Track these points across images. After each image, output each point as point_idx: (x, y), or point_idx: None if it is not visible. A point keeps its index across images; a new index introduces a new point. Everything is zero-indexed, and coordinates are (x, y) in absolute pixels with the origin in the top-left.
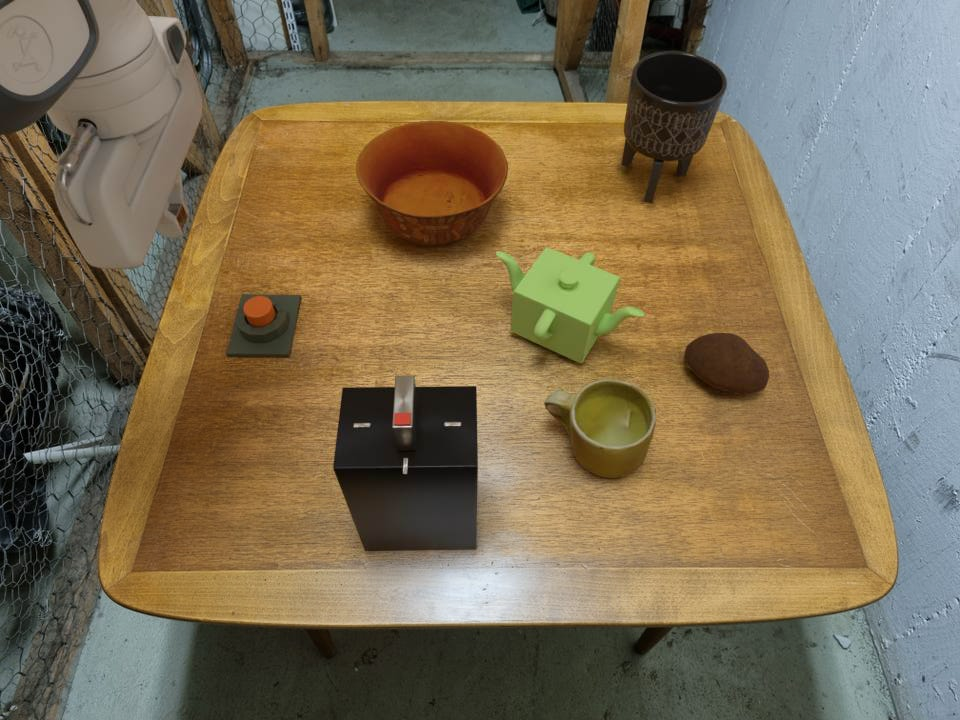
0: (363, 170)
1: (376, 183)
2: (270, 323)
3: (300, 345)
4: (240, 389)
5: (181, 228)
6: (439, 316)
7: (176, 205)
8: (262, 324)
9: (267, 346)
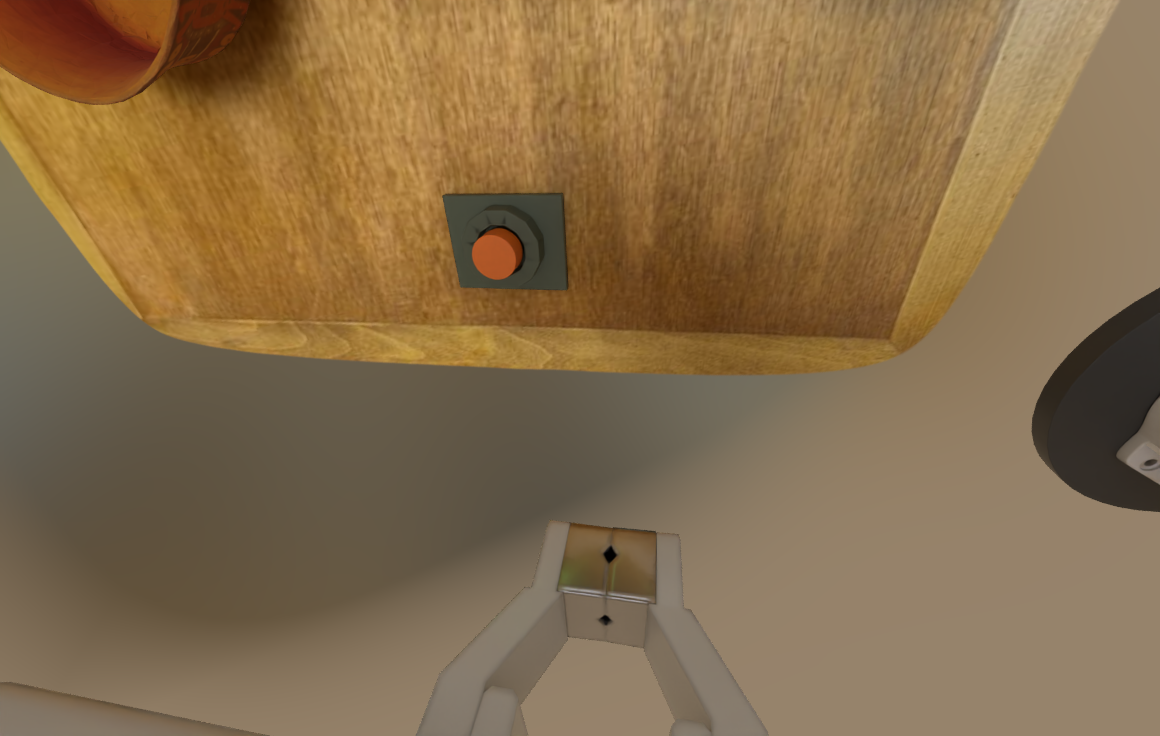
0: (114, 86)
1: (139, 62)
2: None
3: (538, 178)
4: (623, 258)
5: (652, 544)
6: None
7: (571, 602)
8: (519, 245)
9: (549, 232)
